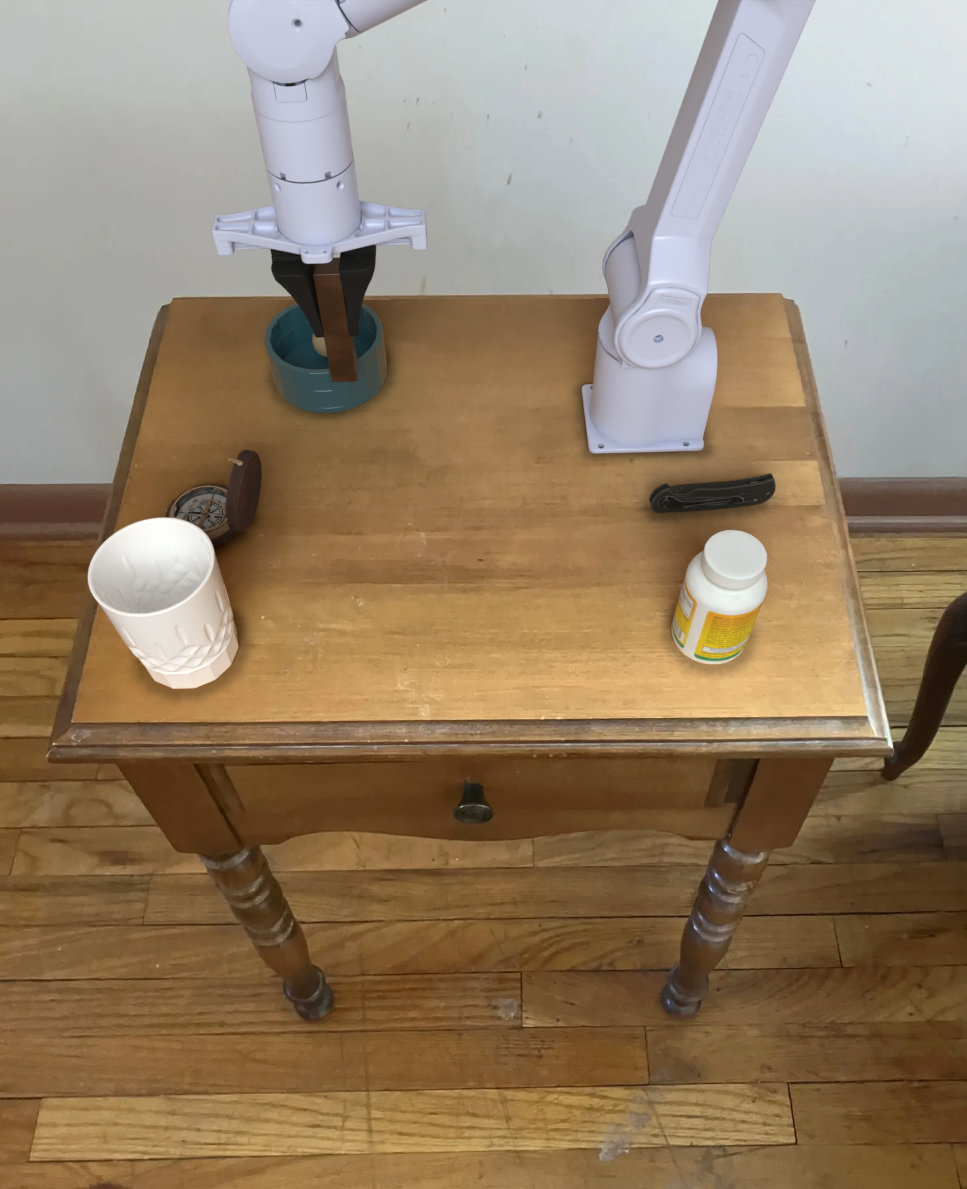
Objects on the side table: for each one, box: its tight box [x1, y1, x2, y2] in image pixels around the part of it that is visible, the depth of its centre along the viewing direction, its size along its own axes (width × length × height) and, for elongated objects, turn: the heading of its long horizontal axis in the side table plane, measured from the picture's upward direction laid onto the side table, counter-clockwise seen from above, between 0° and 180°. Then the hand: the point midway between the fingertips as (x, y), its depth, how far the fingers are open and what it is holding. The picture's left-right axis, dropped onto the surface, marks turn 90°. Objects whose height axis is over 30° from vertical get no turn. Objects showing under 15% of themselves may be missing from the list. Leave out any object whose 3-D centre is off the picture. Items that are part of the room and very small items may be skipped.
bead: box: [312, 333, 327, 357], centre depth 86 cm, size 3×3×3 cm
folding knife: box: [649, 472, 777, 514], centre depth 75 cm, size 10×1×3 cm, turn 96°
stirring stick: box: [313, 256, 358, 382], centre depth 73 cm, size 2×2×10 cm
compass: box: [164, 449, 263, 548], centre depth 73 cm, size 8×8×7 cm
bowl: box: [263, 302, 388, 414], centre depth 84 cm, size 10×10×4 cm
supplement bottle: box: [670, 529, 769, 665], centre depth 66 cm, size 5×5×10 cm
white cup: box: [87, 516, 239, 690], centre depth 65 cm, size 8×8×10 cm
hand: (337, 328), depth 74 cm, fingers closed on stirring stick, 2 cm apart
